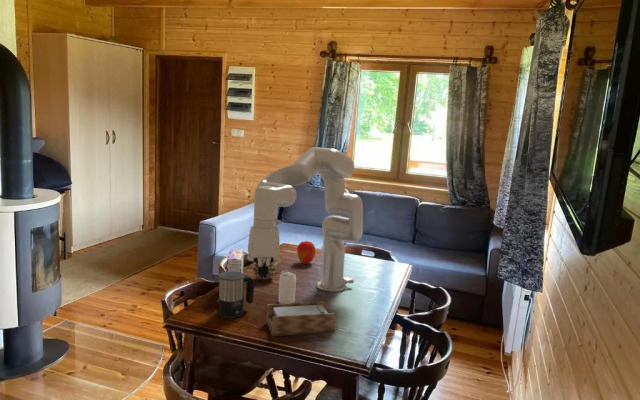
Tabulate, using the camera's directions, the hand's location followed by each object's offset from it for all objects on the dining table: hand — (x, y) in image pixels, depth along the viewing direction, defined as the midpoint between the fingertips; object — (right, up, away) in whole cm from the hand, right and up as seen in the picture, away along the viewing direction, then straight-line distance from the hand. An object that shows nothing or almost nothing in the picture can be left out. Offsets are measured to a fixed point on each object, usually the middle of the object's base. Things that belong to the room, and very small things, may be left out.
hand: (262, 276), depth 165 cm
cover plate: (+13, -14, +6) cm, 20 cm away
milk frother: (-15, -15, +19) cm, 29 cm away
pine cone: (-4, -9, +57) cm, 58 cm away
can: (+6, -15, +29) cm, 33 cm away
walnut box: (+12, -19, +7) cm, 24 cm away
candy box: (-16, -12, +36) cm, 41 cm away
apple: (+12, -6, +80) cm, 81 cm away
